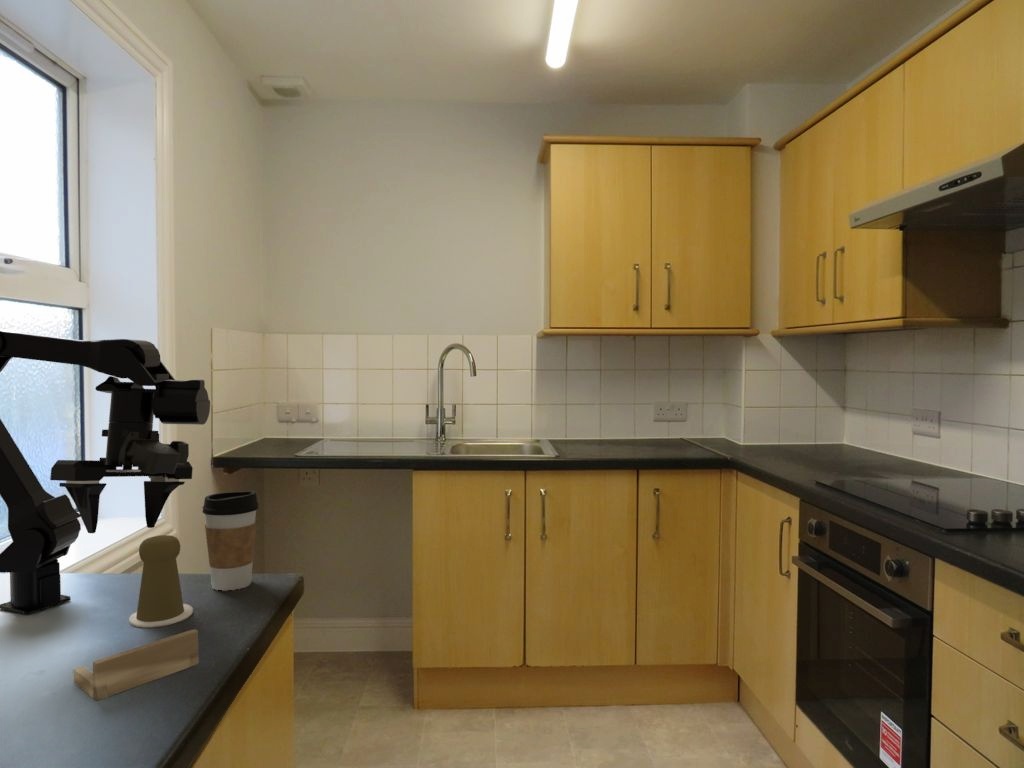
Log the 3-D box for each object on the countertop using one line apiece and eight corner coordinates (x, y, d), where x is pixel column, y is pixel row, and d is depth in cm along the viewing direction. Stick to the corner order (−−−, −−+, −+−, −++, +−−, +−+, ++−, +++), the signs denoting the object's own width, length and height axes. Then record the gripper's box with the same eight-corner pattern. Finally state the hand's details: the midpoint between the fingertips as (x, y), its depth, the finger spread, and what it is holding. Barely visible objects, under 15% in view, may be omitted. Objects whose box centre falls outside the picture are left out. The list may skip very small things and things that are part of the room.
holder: (73, 682, 75) (73, 647, 75) (172, 649, 83) (172, 618, 83) (97, 700, 71) (96, 664, 71) (198, 663, 79) (198, 631, 79)
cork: (133, 624, 90) (132, 544, 90) (138, 609, 96) (137, 534, 95) (183, 617, 92) (182, 539, 92) (185, 603, 98) (184, 530, 98)
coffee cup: (239, 595, 103) (238, 499, 102) (191, 591, 104) (190, 497, 104) (269, 578, 111) (268, 489, 110) (224, 574, 112) (223, 487, 112)
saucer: (115, 622, 92) (115, 619, 92) (165, 602, 99) (165, 600, 99) (157, 631, 89) (157, 628, 89) (205, 610, 96) (205, 607, 96)
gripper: (107, 418, 87) (97, 539, 85) (221, 426, 104) (214, 527, 102) (53, 419, 91) (42, 535, 89) (170, 427, 108) (163, 524, 106)
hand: (122, 530), depth 96 cm, fingers open, 9 cm apart
